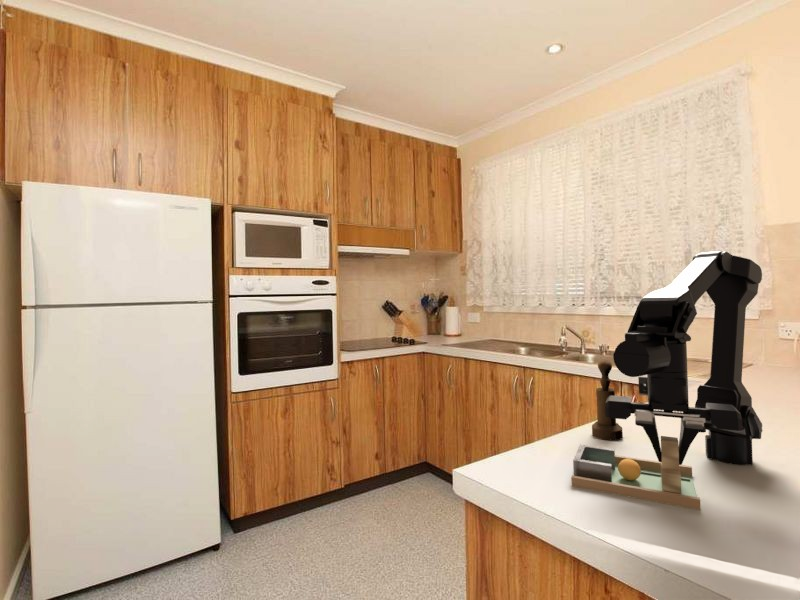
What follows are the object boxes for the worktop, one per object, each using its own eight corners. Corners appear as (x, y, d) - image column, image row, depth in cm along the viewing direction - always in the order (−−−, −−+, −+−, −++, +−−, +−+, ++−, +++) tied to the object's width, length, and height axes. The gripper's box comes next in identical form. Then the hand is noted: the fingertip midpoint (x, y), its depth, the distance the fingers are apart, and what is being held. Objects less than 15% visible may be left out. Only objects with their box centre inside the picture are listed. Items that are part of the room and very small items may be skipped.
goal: (615, 467, 78) (614, 449, 78) (611, 486, 70) (611, 466, 70) (580, 462, 81) (580, 444, 81) (573, 480, 73) (573, 460, 73)
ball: (641, 477, 74) (640, 457, 74) (641, 485, 71) (640, 464, 71) (618, 473, 75) (618, 454, 75) (617, 481, 72) (617, 461, 72)
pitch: (691, 480, 74) (691, 466, 74) (700, 516, 62) (700, 499, 62) (582, 462, 83) (582, 450, 83) (571, 491, 71) (571, 477, 71)
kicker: (678, 479, 72) (677, 434, 72) (681, 493, 67) (679, 445, 67) (661, 476, 73) (659, 432, 73) (662, 490, 68) (660, 443, 68)
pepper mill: (586, 432, 102) (584, 358, 102) (611, 431, 102) (609, 357, 102) (602, 441, 95) (599, 362, 95) (629, 439, 96) (626, 361, 96)
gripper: (728, 365, 72) (731, 455, 72) (608, 360, 82) (611, 440, 82) (741, 376, 63) (745, 480, 63) (603, 369, 72) (606, 459, 72)
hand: (670, 462), depth 70 cm, fingers closed on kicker, 2 cm apart
